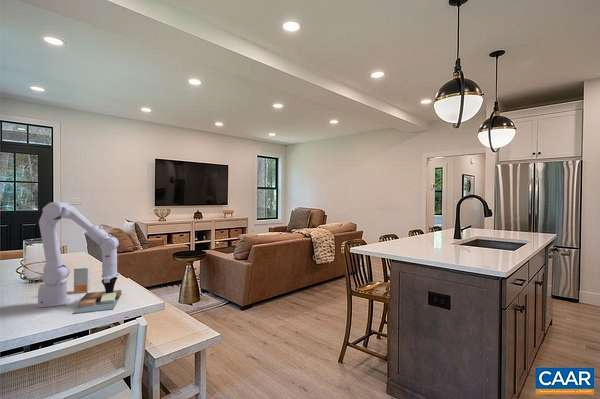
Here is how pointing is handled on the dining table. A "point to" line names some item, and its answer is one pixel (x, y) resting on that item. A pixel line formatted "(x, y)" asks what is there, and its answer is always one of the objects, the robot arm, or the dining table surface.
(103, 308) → the mat
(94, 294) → the riser
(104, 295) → the tile sage
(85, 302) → the tile terracotta
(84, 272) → the skincare box
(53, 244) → the robot arm
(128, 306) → the dining table surface
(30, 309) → the dining table surface
